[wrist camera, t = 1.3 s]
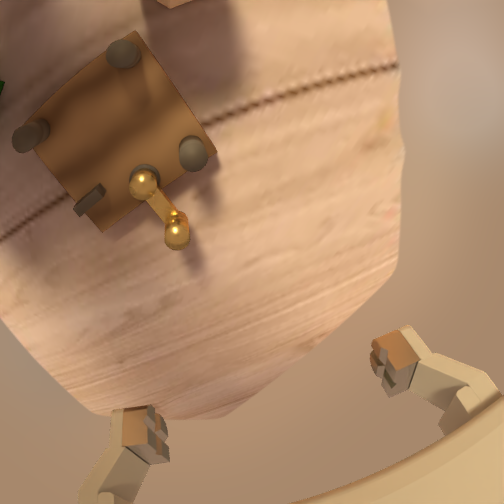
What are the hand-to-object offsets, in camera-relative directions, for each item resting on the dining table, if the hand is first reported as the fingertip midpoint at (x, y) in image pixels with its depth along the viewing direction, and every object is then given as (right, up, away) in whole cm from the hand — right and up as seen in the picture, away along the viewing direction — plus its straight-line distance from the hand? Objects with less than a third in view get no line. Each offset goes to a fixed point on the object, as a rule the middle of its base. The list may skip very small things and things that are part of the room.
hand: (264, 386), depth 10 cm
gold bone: (-10, +10, +23) cm, 27 cm away
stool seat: (-15, +18, +20) cm, 31 cm away
